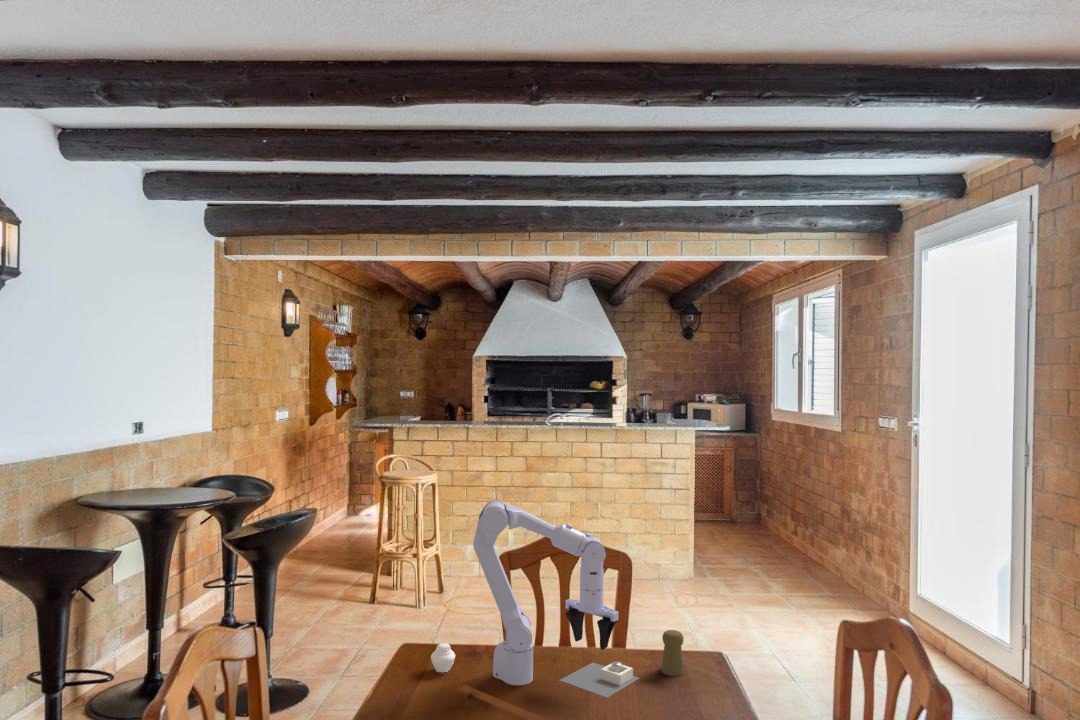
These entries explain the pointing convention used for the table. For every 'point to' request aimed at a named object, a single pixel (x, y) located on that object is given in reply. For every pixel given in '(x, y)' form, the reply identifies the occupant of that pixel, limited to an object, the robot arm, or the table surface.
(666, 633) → the cork
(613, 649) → the table surface
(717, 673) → the table surface
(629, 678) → the collar
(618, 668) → the post
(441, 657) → the white rounded jar shape
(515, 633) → the robot arm
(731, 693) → the table surface
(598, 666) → the board
